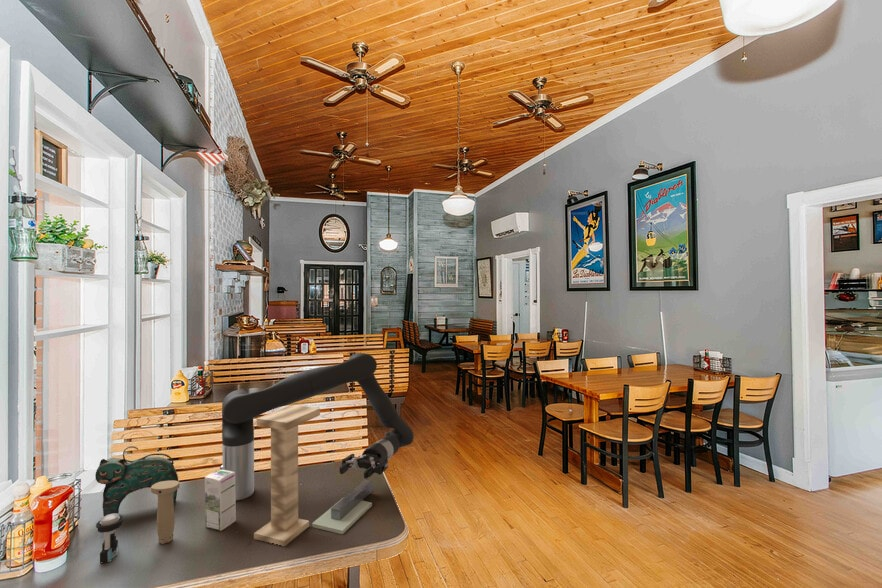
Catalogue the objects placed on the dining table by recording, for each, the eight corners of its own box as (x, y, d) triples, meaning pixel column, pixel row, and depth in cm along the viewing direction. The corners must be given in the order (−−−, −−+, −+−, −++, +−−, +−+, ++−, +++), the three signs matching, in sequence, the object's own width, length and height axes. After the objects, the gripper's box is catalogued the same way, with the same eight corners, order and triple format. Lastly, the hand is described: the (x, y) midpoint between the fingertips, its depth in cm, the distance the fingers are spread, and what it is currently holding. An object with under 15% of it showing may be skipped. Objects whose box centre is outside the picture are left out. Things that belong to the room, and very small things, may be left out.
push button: (104, 549, 107) (104, 510, 107) (129, 545, 109) (129, 507, 109) (92, 565, 101) (91, 524, 101) (118, 561, 103) (118, 521, 102)
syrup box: (236, 520, 121) (236, 470, 120) (219, 532, 115) (219, 479, 115) (221, 517, 123) (221, 467, 122) (204, 528, 117) (203, 476, 117)
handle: (173, 546, 109) (172, 488, 109) (147, 547, 108) (146, 489, 108) (183, 535, 114) (183, 480, 113) (158, 535, 113) (158, 480, 113)
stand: (254, 538, 112) (253, 419, 112) (292, 510, 126) (292, 404, 126) (284, 546, 109) (284, 423, 108) (319, 517, 123) (319, 408, 122)
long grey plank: (331, 518, 120) (331, 508, 120) (364, 488, 138) (364, 479, 138) (340, 520, 119) (340, 510, 119) (373, 490, 137) (373, 481, 137)
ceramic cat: (95, 525, 118) (94, 455, 118) (98, 515, 123) (98, 447, 123) (178, 506, 129) (178, 441, 128) (178, 497, 134) (177, 435, 134)
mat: (312, 526, 118) (311, 523, 118) (344, 499, 133) (344, 496, 133) (342, 534, 114) (342, 530, 114) (371, 505, 129) (371, 502, 129)
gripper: (360, 440, 146) (332, 457, 131) (397, 445, 141) (373, 464, 126) (360, 461, 146) (332, 481, 131) (397, 467, 141) (373, 489, 126)
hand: (352, 473), depth 128 cm, fingers open, 8 cm apart
